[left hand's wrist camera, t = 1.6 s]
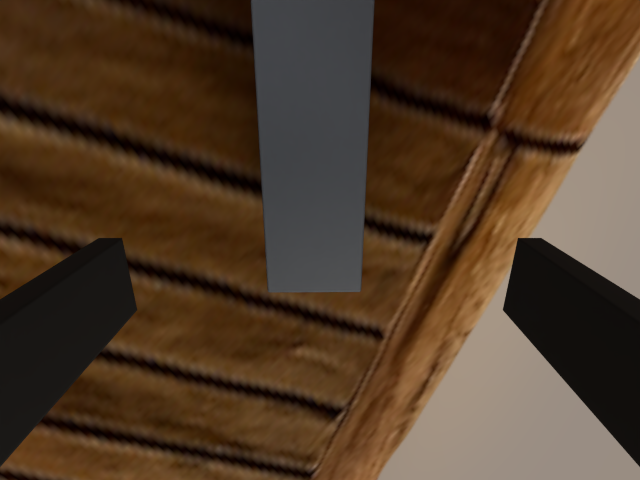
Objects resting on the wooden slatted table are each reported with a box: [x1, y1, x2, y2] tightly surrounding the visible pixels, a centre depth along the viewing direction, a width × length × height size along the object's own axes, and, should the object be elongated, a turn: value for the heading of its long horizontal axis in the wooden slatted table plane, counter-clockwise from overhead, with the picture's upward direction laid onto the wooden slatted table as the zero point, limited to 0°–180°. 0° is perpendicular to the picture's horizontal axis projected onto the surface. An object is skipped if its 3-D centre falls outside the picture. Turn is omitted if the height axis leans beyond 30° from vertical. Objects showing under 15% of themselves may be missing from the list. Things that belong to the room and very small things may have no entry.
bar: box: [251, 0, 374, 292], centre depth 17 cm, size 25×5×9 cm, turn 0°
